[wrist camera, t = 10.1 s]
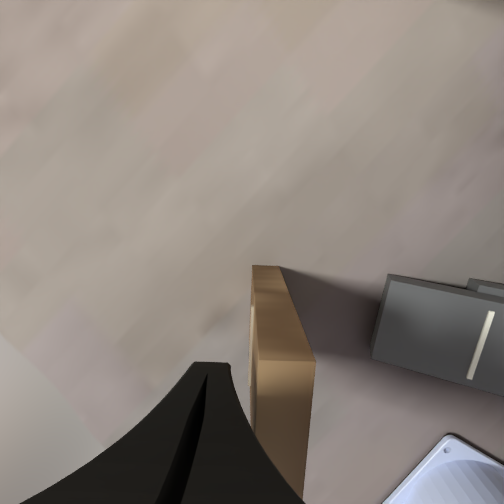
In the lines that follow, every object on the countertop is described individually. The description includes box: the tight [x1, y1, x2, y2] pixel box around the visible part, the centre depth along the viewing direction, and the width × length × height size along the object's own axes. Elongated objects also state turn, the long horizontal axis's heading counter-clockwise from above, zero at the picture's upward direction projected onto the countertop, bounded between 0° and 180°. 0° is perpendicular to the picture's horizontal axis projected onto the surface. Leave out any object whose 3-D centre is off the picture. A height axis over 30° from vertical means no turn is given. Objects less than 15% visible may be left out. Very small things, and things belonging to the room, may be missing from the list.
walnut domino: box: [248, 265, 316, 500], centre depth 14 cm, size 2×5×10 cm, turn 178°
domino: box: [370, 274, 504, 397], centre depth 17 cm, size 2×5×10 cm
